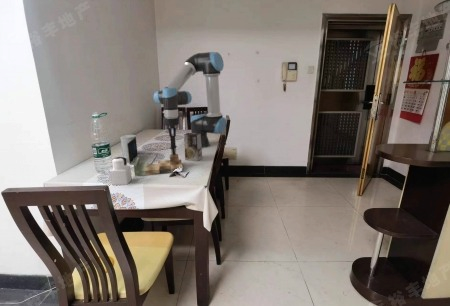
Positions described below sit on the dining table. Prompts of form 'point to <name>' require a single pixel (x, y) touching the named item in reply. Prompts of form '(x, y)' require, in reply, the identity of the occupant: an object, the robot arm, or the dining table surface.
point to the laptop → (133, 154)
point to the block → (174, 159)
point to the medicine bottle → (120, 171)
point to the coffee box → (193, 146)
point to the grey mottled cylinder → (124, 141)
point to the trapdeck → (154, 167)
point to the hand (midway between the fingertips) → (174, 159)
